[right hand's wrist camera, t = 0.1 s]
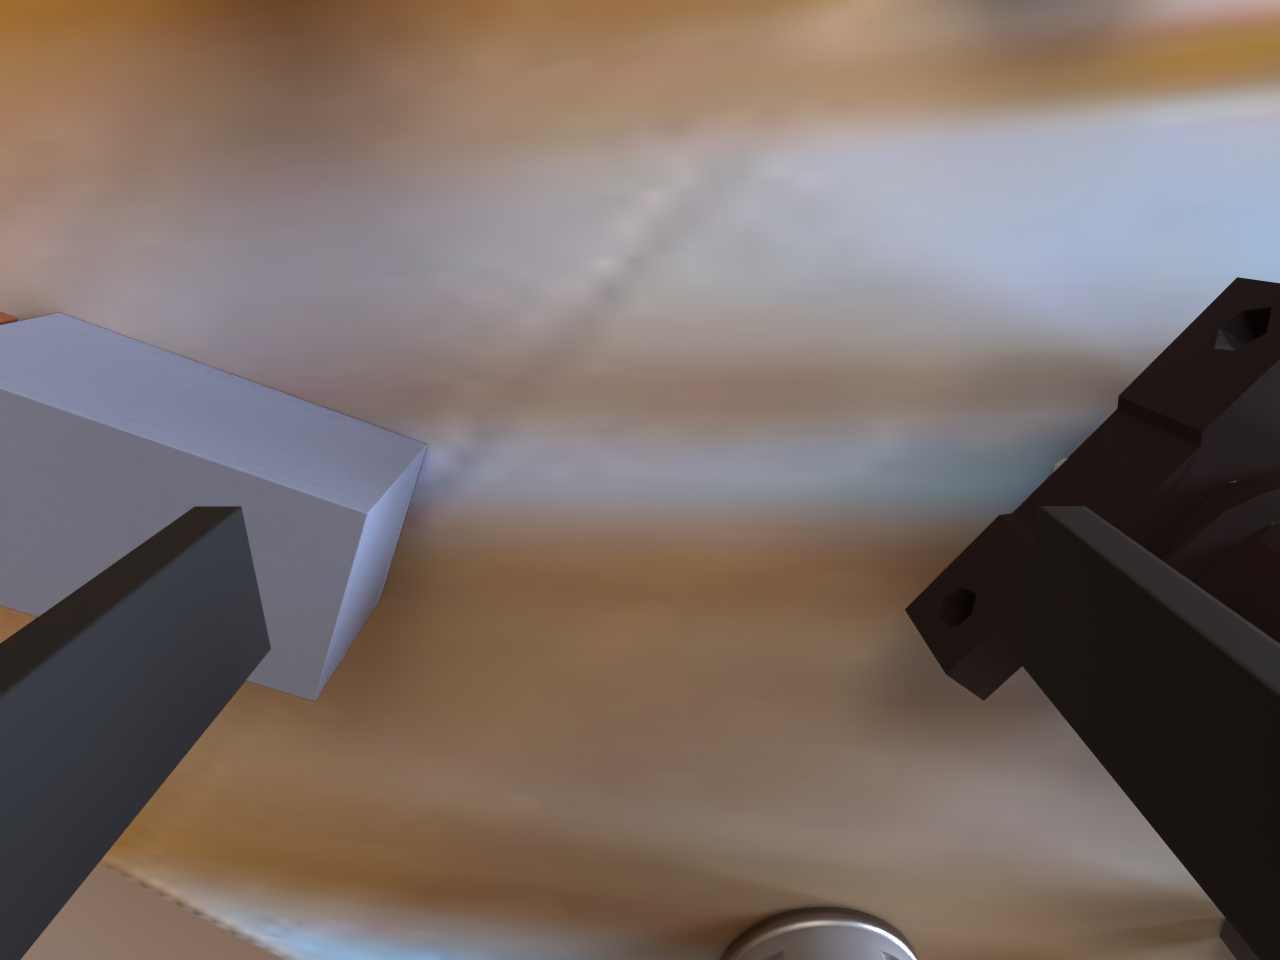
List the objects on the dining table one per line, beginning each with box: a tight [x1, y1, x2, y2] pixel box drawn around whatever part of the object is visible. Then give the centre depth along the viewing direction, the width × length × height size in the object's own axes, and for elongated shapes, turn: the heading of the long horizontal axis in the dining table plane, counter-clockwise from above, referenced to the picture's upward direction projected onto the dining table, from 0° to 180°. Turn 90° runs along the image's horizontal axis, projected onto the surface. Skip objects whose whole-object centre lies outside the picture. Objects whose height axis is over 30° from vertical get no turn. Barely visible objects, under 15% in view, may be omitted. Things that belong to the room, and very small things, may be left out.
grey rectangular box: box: [0, 313, 427, 701], centre depth 37 cm, size 20×11×10 cm, turn 69°
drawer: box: [0, 312, 18, 325], centre depth 36 cm, size 24×9×8 cm, turn 69°
